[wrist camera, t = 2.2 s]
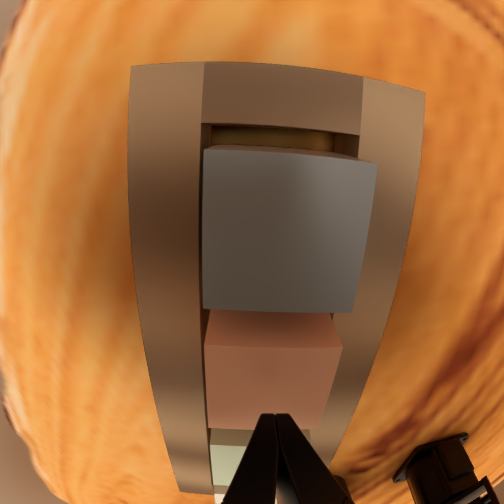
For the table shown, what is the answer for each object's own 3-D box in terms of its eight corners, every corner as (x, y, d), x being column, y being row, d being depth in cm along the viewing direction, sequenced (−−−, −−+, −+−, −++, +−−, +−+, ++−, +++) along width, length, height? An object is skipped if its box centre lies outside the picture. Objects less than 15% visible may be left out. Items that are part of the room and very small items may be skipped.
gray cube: (321, 257, 12) (351, 312, 8) (216, 252, 12) (203, 308, 8) (333, 152, 10) (377, 163, 7) (219, 143, 10) (203, 149, 7)
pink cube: (303, 361, 14) (317, 428, 10) (216, 359, 14) (208, 427, 10) (317, 285, 12) (343, 347, 9) (216, 281, 12) (204, 344, 8)
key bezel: (309, 463, 20) (314, 493, 18) (184, 460, 20) (179, 491, 17) (390, 98, 11) (425, 92, 8) (156, 79, 11) (131, 66, 8)
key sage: (289, 427, 16) (296, 485, 12) (217, 425, 16) (213, 484, 12) (299, 379, 14) (312, 445, 11) (216, 377, 14) (209, 444, 10)
